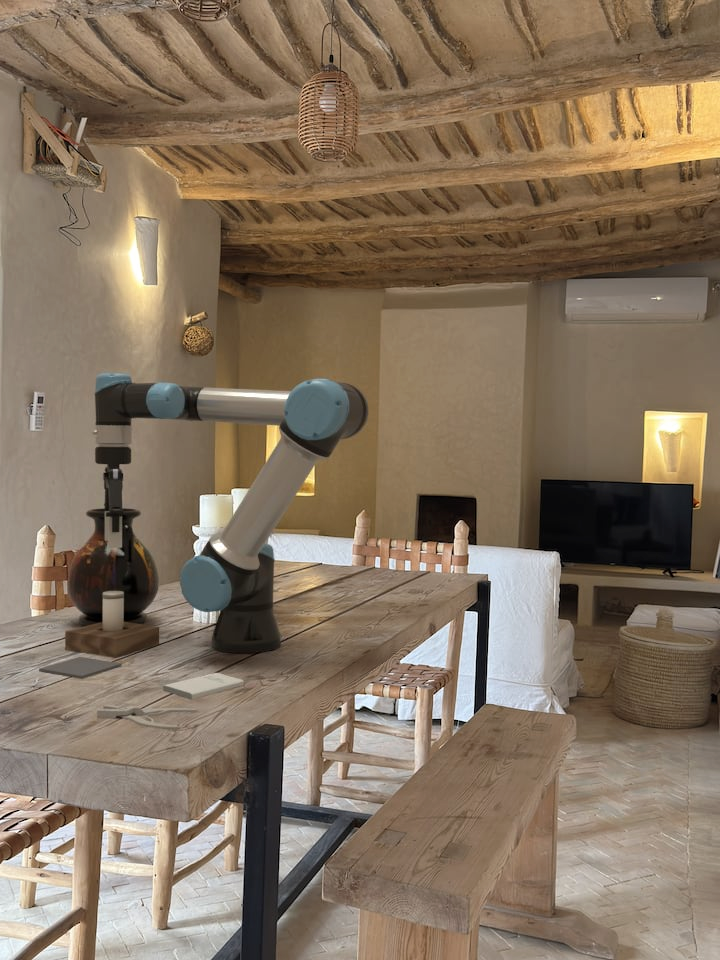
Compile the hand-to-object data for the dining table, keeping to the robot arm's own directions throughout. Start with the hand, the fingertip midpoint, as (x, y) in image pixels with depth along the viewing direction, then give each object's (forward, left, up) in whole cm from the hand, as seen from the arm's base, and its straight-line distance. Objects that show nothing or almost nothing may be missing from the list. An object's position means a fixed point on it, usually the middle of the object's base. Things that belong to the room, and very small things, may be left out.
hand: (113, 544), depth 196 cm
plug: (0, 0, -23) cm, 23 cm away
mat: (-7, +17, -23) cm, 29 cm away
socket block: (0, 0, -23) cm, 23 cm away
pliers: (-38, +35, -23) cm, 56 cm away
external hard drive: (-36, +16, -23) cm, 46 cm away
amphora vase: (+16, -18, -23) cm, 33 cm away
